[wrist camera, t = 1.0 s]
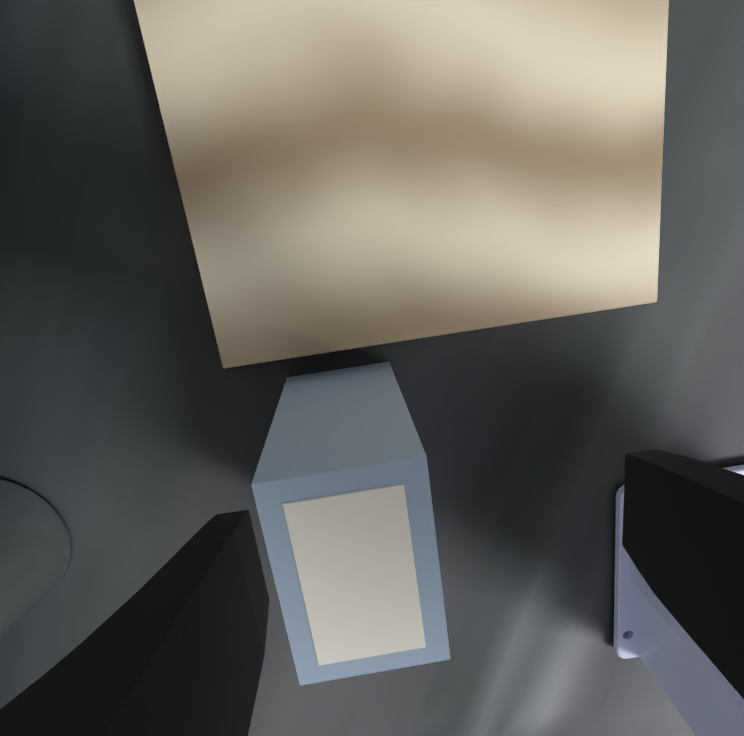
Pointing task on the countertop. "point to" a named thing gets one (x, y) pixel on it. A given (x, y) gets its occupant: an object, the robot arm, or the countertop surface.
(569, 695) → the countertop surface
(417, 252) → the board
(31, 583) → the beer glass
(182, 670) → the robot arm
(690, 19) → the countertop surface
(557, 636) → the countertop surface
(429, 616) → the slab
